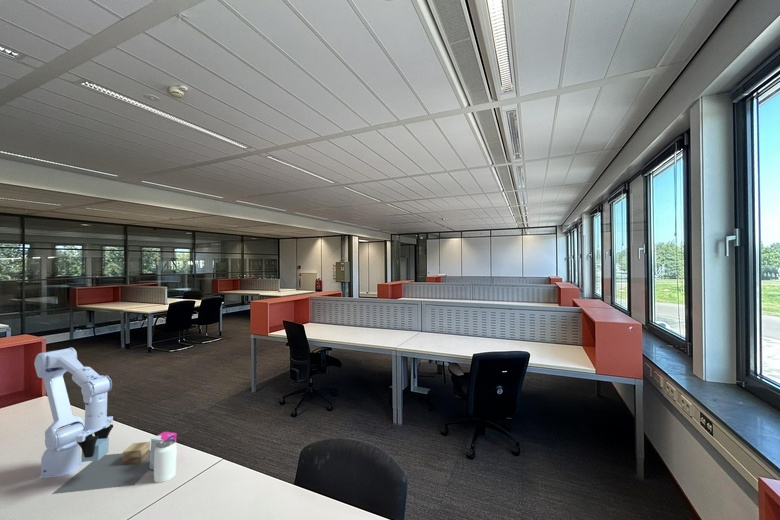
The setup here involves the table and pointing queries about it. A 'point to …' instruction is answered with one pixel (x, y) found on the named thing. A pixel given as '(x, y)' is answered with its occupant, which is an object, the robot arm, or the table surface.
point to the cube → (98, 450)
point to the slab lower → (136, 459)
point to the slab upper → (136, 450)
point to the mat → (106, 474)
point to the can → (165, 460)
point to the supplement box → (156, 440)
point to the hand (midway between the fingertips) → (94, 452)
